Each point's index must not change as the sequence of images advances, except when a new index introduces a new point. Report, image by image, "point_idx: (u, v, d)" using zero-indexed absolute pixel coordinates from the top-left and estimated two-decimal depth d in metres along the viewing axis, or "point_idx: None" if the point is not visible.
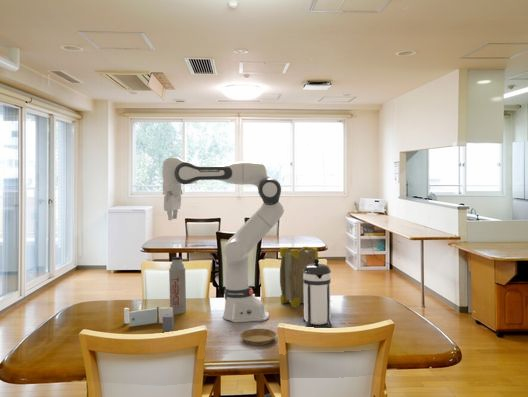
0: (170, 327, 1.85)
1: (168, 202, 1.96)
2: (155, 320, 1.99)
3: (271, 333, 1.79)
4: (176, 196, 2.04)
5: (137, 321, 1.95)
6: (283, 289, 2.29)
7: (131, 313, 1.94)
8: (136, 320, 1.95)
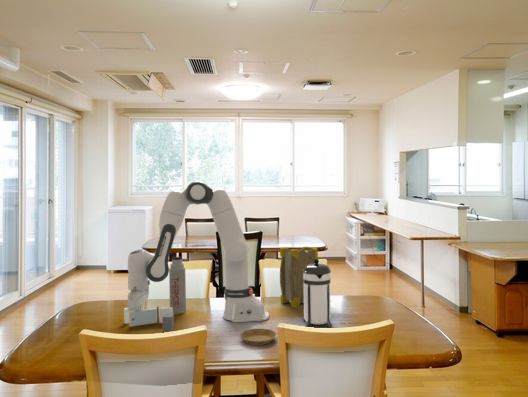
0: (170, 327, 1.85)
1: (132, 301, 1.88)
2: (155, 320, 1.98)
3: (271, 333, 1.79)
4: (142, 291, 1.96)
5: (137, 321, 1.95)
6: (283, 289, 2.29)
7: (131, 313, 1.94)
8: (136, 320, 1.95)
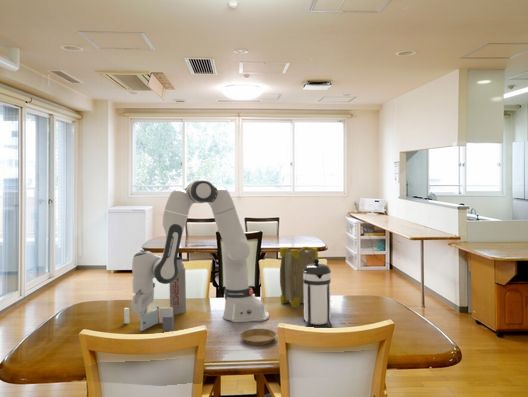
0: (170, 327, 1.85)
1: (137, 304, 1.82)
2: (157, 320, 1.98)
3: (271, 333, 1.79)
4: (147, 294, 1.90)
5: (146, 324, 1.91)
6: (283, 289, 2.29)
7: (142, 317, 1.88)
8: (146, 323, 1.90)
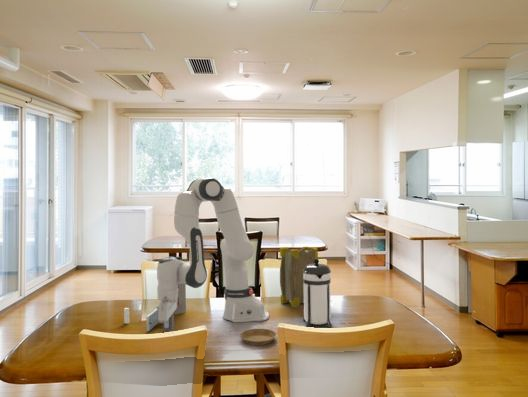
0: (170, 327, 1.85)
1: (163, 312, 1.77)
2: (158, 320, 1.98)
3: (271, 333, 1.79)
4: (172, 301, 1.85)
5: (151, 324, 1.90)
6: (283, 289, 2.29)
7: (149, 317, 1.87)
8: (151, 323, 1.90)
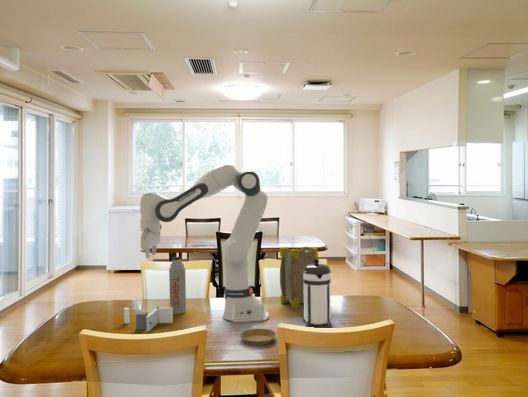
0: (143, 324, 1.90)
1: (145, 240, 1.91)
2: (158, 320, 1.98)
3: (271, 333, 1.79)
4: (154, 233, 1.98)
5: (151, 324, 1.90)
6: (283, 289, 2.29)
7: (149, 317, 1.87)
8: (151, 323, 1.90)
